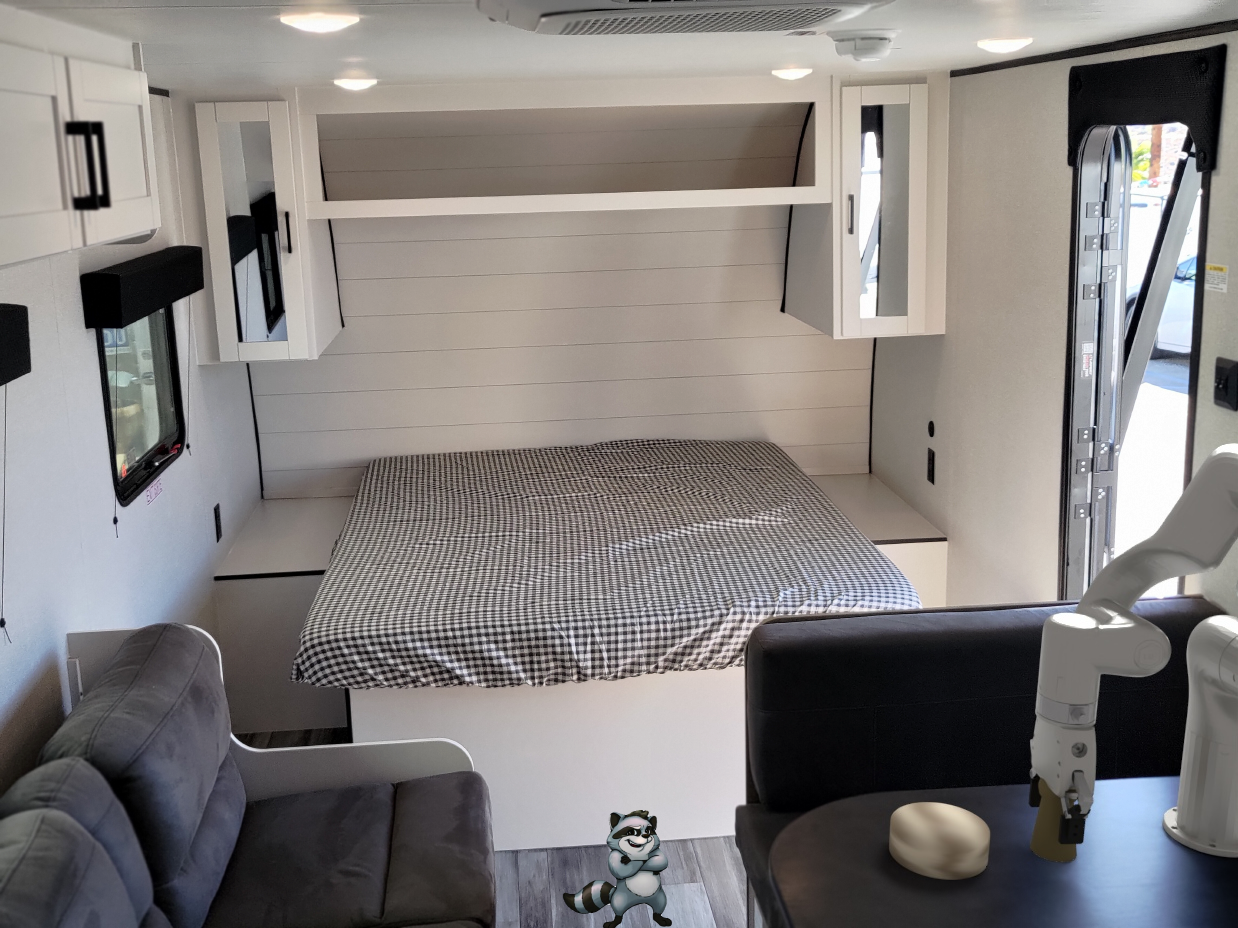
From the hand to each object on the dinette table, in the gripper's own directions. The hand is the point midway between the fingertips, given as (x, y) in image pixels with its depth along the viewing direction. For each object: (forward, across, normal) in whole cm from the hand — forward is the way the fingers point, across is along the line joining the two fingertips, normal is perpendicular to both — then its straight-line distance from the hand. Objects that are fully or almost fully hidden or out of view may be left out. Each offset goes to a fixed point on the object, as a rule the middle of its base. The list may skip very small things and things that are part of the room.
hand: (1054, 823), depth 157 cm
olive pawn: (+4, 0, 0) cm, 4 cm away
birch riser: (+4, 0, +16) cm, 16 cm away
